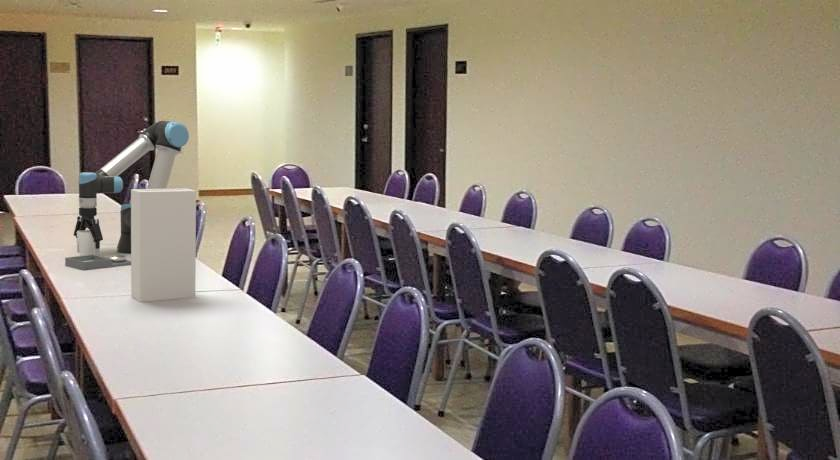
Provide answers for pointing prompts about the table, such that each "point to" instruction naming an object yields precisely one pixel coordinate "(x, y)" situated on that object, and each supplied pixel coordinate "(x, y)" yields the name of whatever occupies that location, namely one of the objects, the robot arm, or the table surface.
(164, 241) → the storage box
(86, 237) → the foam cup
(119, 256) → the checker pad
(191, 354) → the table surface
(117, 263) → the dark gray tray
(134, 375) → the table surface
